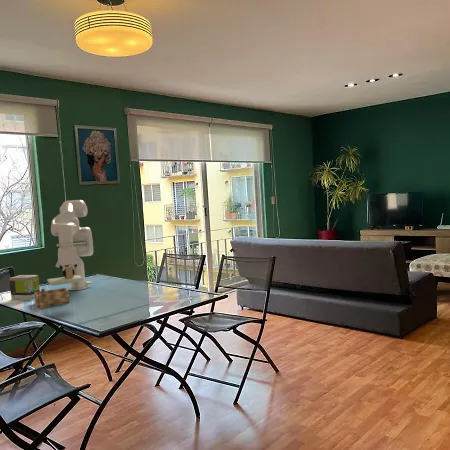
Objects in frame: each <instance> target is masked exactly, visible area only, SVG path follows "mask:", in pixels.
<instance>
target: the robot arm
mask: <svg viewBox="0 0 450 450" xmlns="http://www.w3.org/2000/svg"><path fill="white" fill-rule="evenodd" d="M87 215H88V206H87V204H86V202H85V201H84V200H82V199H75V200H74V199H73V200H65V201H64V202H62V204H61V206H60V207H59V213H58V214H57V215H56V216H55V217H54V218H52V220H51V225H50V233H51V235H52V236H54V237H58V243H56V247H59V248H58V250H57V262H56V264H55V267H56V268H58V269H60V270H61V271H62V277H65V278H66V271H65V267H66V266H68V267H72V271H73V276H75V275H79V276H81V277H82V280H80V282H76V283H70V286H69V287H68V291H69V290H70V291H81V290H86V289H88V288H89V286H88V285H93V281H86V278H85V277H86V274H85V264H84V261H83V260H82V258H80V257H90V256H93V254H94V240H93V235H92V234H93V233H92V229H91V228H90V227H88V226H83V227H82V226H81V227H80V220H79V219H78V218H84V217H87ZM74 242H75V243H74Z"/></svg>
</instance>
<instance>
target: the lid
mask: <svg viewBox="0 0 450 450" xmlns="http://www.w3.org/2000/svg"><path fill="white" fill-rule="evenodd" d="M65 271H66V278H65V277H64V276H62V277H54V278H53V277H52V278H47V279H46V281H47V282H48V284H50V285H51V286H53V287H54V286H62V285H67V284H71V283H76V282H80V280H82V277H81V276H79V275H75V276H73V271H72V267H69V266H65Z"/></svg>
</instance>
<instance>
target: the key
mask: <svg viewBox="0 0 450 450" xmlns="http://www.w3.org/2000/svg"><path fill="white" fill-rule="evenodd" d="M40 291H41V295H42V296H43V297H47V294H46V292H45V291H46V290H45V288H41V289H40Z"/></svg>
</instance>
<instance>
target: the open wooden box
mask: <svg viewBox="0 0 450 450" xmlns="http://www.w3.org/2000/svg"><path fill="white" fill-rule="evenodd" d="M45 292H46V294H47V297H43V296H42V295H41V290H40V292H34V293H35V299H34V300H35V301H34V302H35V303H34V304H35V306H36V308H40V309H47V308H49V307H50V306H56V305H62V304H69V303H70V295H69V289H67V287H63V288H61V287H60V288H56V289H48V290H45Z"/></svg>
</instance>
